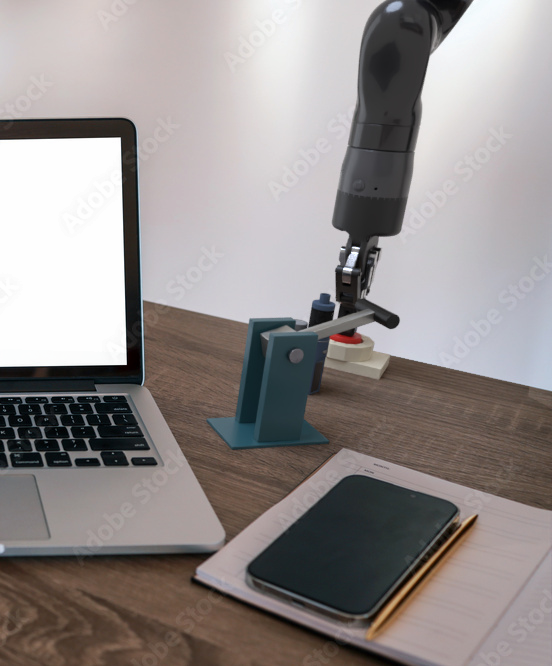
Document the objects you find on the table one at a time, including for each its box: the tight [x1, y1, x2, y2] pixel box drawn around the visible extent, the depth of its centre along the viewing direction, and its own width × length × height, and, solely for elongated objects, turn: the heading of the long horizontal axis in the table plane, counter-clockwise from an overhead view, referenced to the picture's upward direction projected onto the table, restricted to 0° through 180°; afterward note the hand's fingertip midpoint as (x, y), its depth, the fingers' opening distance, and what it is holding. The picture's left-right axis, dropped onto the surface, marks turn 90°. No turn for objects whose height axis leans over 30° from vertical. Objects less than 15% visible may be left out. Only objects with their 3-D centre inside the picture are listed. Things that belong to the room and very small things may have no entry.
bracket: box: [205, 316, 330, 451], centre depth 74 cm, size 10×6×12 cm, turn 103°
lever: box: [260, 298, 401, 358], centre depth 73 cm, size 12×5×2 cm, turn 103°
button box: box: [324, 332, 391, 381], centre depth 94 cm, size 10×6×4 cm, turn 58°
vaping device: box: [293, 292, 336, 396], centre depth 85 cm, size 3×5×12 cm, turn 40°
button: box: [330, 331, 362, 344], centre depth 93 cm, size 4×4×2 cm
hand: (345, 333), depth 93 cm, fingers closed
